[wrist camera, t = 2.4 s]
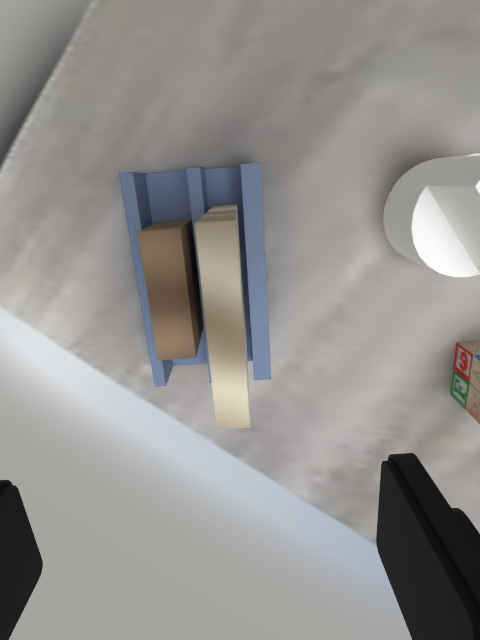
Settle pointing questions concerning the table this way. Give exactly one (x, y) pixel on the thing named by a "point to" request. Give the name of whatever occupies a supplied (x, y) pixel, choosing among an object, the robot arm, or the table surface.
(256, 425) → the table surface
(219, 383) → the birch sheet
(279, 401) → the table surface
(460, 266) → the base with upright slab
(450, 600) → the robot arm
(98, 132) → the table surface
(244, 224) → the rack
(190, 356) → the walnut offcut
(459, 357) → the stack of blocks
